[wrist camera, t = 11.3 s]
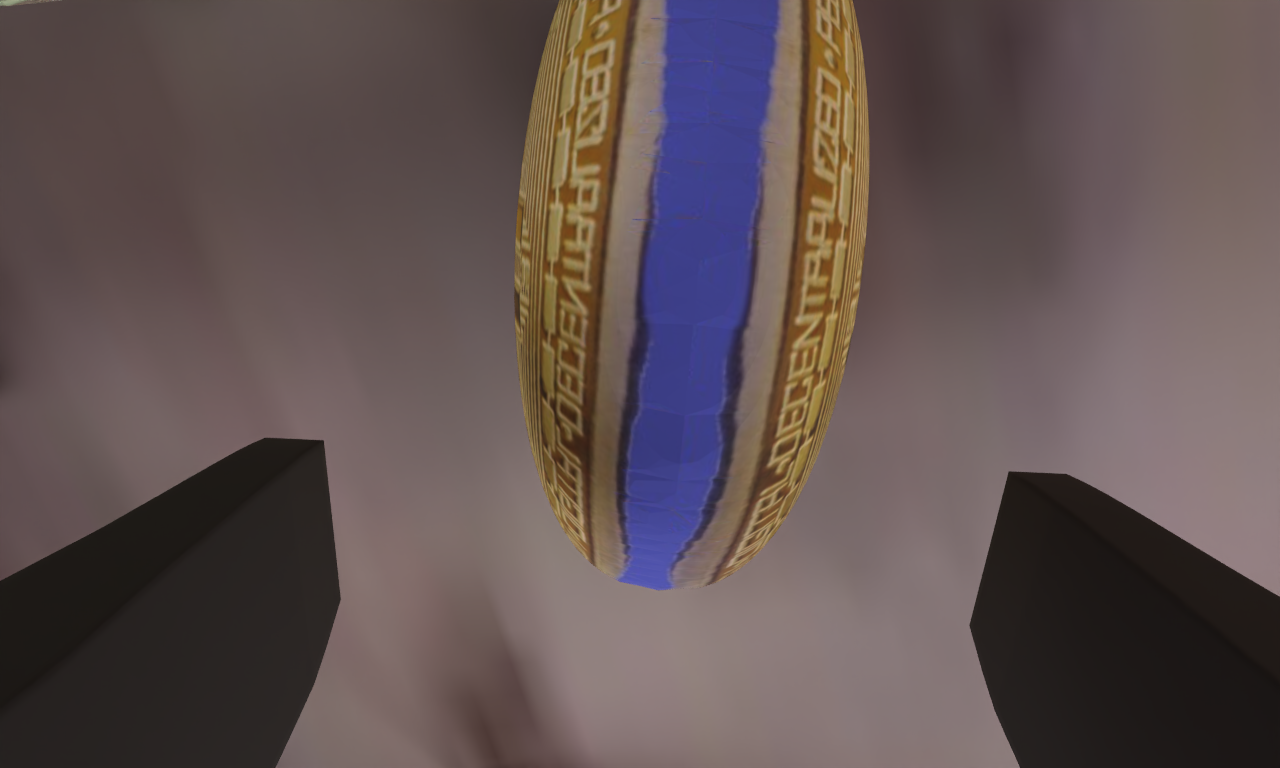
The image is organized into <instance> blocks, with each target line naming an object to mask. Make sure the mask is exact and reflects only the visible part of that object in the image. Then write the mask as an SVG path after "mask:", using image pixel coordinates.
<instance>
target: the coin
mask: <svg viewBox="0 0 1280 768" xmlns="http://www.w3.org/2000/svg"><path fill="white" fill-rule="evenodd" d="M868 192H869V121H868V102H867V87H866V78H865V69H864V60H863V52H862V46H861V41H860V35H859V30H858V24H857V18H856V14H855V9H854V5H853V1H852V0H560V1H559V3H558V6H557V9H556V11H555V14H554V17H553V20H552V24H551V27H550V30H549V34H548V37H547V41H546V44H545V48H544V51H543V55H542V59H541V63H540V68H539V72H538V76H537V81H536V85H535V90H534V94H533V99H532V105H531V110H530V116H529V122H528V127H527V133H526V140H525V147H524V154H523V161H522V169H521V179H520V189H519V199H518V211H517V226H516V243H515V292H514V300H515V331H516V346H517V360H518V371H519V380H520V388H521V396H522V403H523V409H524V415H525V421H526V426H527V431H528V436H529V441H530V445H531V449H532V453H533V457H534V460H535V464H536V467H537V470H538V474H539V477H540V480H541V482H542V485H543V488H544V491H545V493H546V496H547V498H548V500H549V502H550V505H551V507H552V509H553V511H554V513H555V516H556V517H557V519H558V521H559V523H560V525H561V527H562V528H563V530H564V531H565V533H566V534H567V536H568V537H569V539H570V540H571V542H572V543H573V544H574V546H575V547H576V548H577V549H578V550H579V552H580V553H581V554H582V555H583V556H584V557H585V558H586V559H587V560H588V561H589V562H590V563H591V564H593V565H594V566H595V567H597V568H598V569H599V570H600V571H602V572H603V573H605V574H607V575H609V576H610V577H612V578H614V579H616V580H618V581H620V582H624V583H629V584H634V585H638V586H643V587H647V588H651V589H655V590H667V589H685V588H701V587H704V586H707V585H710V584H713V583H716V582H719V581H720V580H722V579H724V578H726V577H728V576H730V575H731V574H733V573H734V572H736V571H737V570H739V569H740V568H741V567H743V566H744V565H745V564H746V563H747V562H749V561H750V560H751V559H752V558H753V557H754V556H755V555H756V554H757V553H758V552H759V551H760V550H761V549H762V548H763V547H764V546H765V545H766V544H767V542H768V541H769V540H770V539H771V538H772V536H773V535H774V534H775V533H776V531H777V530H778V528H779V527H780V526H781V524H782V523H783V521H784V520H785V519H786V517H787V515H788V514H789V512H790V511H791V509H792V507H793V506H794V504H795V502H796V500H797V499H798V497H799V495H800V493H801V491H802V489H803V487H804V485H805V483H806V481H807V479H808V477H809V475H810V472H811V470H812V468H813V466H814V463H815V461H816V458H817V456H818V453H819V451H820V448H821V445H822V442H823V439H824V437H825V434H826V431H827V428H828V425H829V422H830V419H831V416H832V413H833V409H834V406H835V403H836V399H837V395H838V392H839V388H840V384H841V381H842V377H843V373H844V369H845V365H846V361H847V356H848V352H849V347H850V342H851V338H852V333H853V328H854V322H855V316H856V311H857V305H858V298H859V290H860V283H861V276H862V268H863V260H864V250H865V240H866V228H867V212H868Z"/></svg>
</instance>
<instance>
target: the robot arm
mask: <svg viewBox="0 0 1280 768" xmlns="http://www.w3.org/2000/svg"><path fill="white" fill-rule="evenodd" d="M340 600H341V598H340V588H339V579H338V570H337V560H336V551H335V542H334V532H333V523H332V514H331V504H330V495H329V486H328V477H327V467H326V458H325V449H324V440H303V439H280V438H264V439H261V440H259V441H257V442H255V443H252V444H250V445H248V446H246V447H244V448H242V449H240V450H238V451H236V452H235V453H233V454H231V455H229V456H227V457H225V458H224V459H222V460H220V461H218V462H216V463H215V464H213V465H211V466H209V467H208V468H206V469H204V470H202V471H201V472H199V473H197V474H195V475H194V476H192V477H190V478H188V479H187V480H185V481H183V482H181V483H180V484H178V485H176V486H174V487H173V488H171V489H169V490H167V491H166V492H164V493H162V494H160V495H159V496H157V497H155V498H153V499H152V500H150V501H148V502H146V503H145V504H143V505H141V506H139V507H138V508H136V509H134V510H132V511H131V512H129V513H127V514H125V515H124V516H122V517H120V518H118V519H117V520H115V521H113V522H111V523H110V524H108V525H106V526H104V527H102V528H101V529H99V530H97V531H95V532H93V533H91V534H89V535H87V536H86V537H84V538H82V539H80V540H78V541H76V542H74V543H72V544H70V545H68V546H66V547H64V548H63V549H61V550H59V551H57V552H55V553H53V554H51V555H49V556H47V557H45V558H43V559H41V560H40V561H38V562H36V563H34V564H32V565H30V566H28V567H26V568H24V569H22V570H20V571H19V572H17V573H15V574H13V575H11V576H9V577H7V578H5V579H3V580H1V581H0V768H275V767H276V765H277V763H278V761H279V759H280V757H281V755H282V753H283V751H284V748H285V746H286V744H287V742H288V740H289V738H290V735H291V733H292V731H293V729H294V727H295V725H296V723H297V720H298V718H299V716H300V714H301V712H302V710H303V707H304V705H305V703H306V701H307V699H308V696H309V694H310V692H311V690H312V687H313V685H314V683H315V680H316V677H317V674H318V671H319V668H320V665H321V662H322V659H323V656H324V653H325V650H326V646H327V643H328V640H329V637H330V633H331V630H332V627H333V623H334V620H335V616H336V613H337V610H338V606H339V603H340ZM970 629H971V632H972V636H973V640H974V643H975V647H976V650H977V654H978V657H979V661H980V665H981V668H982V672H983V675H984V678H985V681H986V684H987V687H988V691H989V694H990V697H991V700H992V703H993V706H994V709H995V712H996V714H997V717H998V719H999V721H1000V723H1001V726H1002V728H1003V730H1004V733H1005V735H1006V737H1007V739H1008V741H1009V744H1010V746H1011V748H1012V750H1013V753H1014V755H1015V757H1016V759H1017V761H1018V764H1019V766H1020V768H1280V597H1279V596H1277V595H1276V594H1274V593H1272V592H1270V591H1269V590H1267V589H1265V588H1264V587H1262V586H1260V585H1258V584H1257V583H1255V582H1253V581H1252V580H1250V579H1248V578H1246V577H1245V576H1243V575H1241V574H1240V573H1238V572H1236V571H1235V570H1233V569H1231V568H1230V567H1228V566H1226V565H1225V564H1223V563H1221V562H1220V561H1218V560H1216V559H1215V558H1213V557H1211V556H1210V555H1208V554H1206V553H1205V552H1203V551H1201V550H1200V549H1198V548H1196V547H1195V546H1193V545H1191V544H1190V543H1188V542H1186V541H1185V540H1183V539H1181V538H1180V537H1178V536H1176V535H1175V534H1173V533H1171V532H1170V531H1168V530H1166V529H1165V528H1163V527H1161V526H1160V525H1158V524H1157V523H1155V522H1153V521H1152V520H1150V519H1148V518H1147V517H1145V516H1143V515H1142V514H1140V513H1138V512H1136V511H1135V510H1133V509H1131V508H1130V507H1128V506H1126V505H1124V504H1123V503H1121V502H1119V501H1118V500H1116V499H1114V498H1112V497H1111V496H1109V495H1107V494H1105V493H1103V492H1102V491H1100V490H1098V489H1096V488H1094V487H1092V486H1090V485H1088V484H1086V483H1085V482H1082V481H1080V480H1078V479H1076V478H1074V477H1072V476H1070V475H1067V474H1053V473H1031V472H1009V473H1008V477H1007V481H1006V485H1005V489H1004V493H1003V496H1002V500H1001V504H1000V508H999V512H998V516H997V520H996V524H995V528H994V532H993V536H992V540H991V543H990V547H989V551H988V555H987V559H986V563H985V567H984V571H983V575H982V579H981V583H980V587H979V591H978V594H977V598H976V602H975V606H974V610H973V614H972V618H971V622H970Z"/></svg>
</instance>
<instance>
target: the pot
mask: <svg viewBox="0 0 1280 768" xmlns="http://www.w3.org/2000/svg"><path fill="white" fill-rule="evenodd" d="M52 1H61V0H0V7H3V6H14V5H24V4H33V3H42V2H52Z"/></svg>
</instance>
